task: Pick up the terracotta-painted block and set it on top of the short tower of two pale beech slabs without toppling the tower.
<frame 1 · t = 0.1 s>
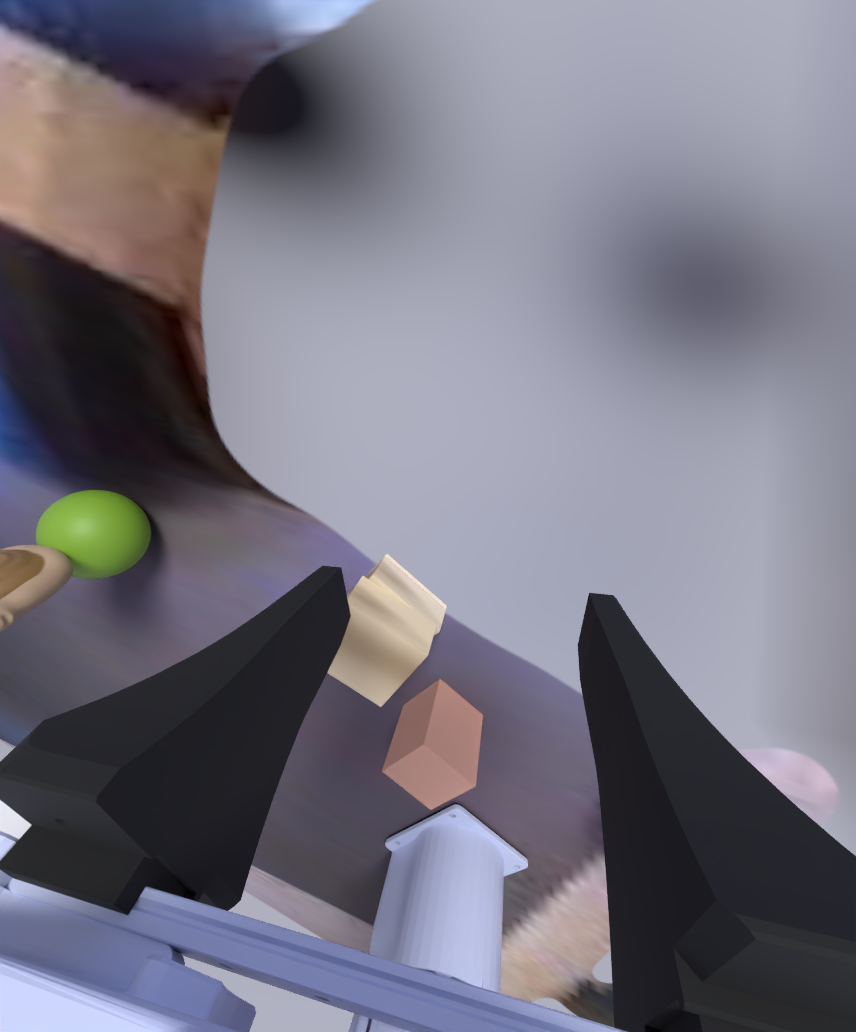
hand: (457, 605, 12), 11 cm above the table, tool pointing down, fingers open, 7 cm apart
block: (442, 709, 28), on the table
snail figurine: (144, 517, 27), on the table
tower top: (378, 627, 24), point 2 cm above the table, touching tower base
tower base: (392, 602, 26), on the table, touching tower top
white cup: (113, 733, 39), on the table
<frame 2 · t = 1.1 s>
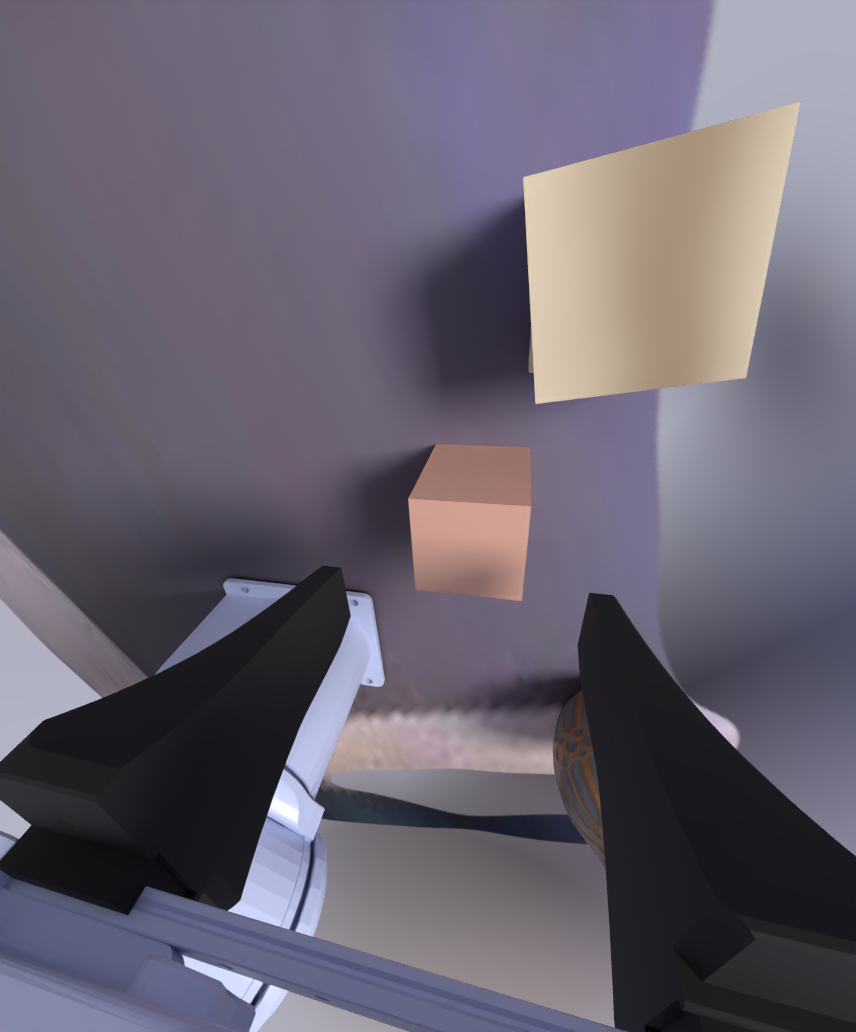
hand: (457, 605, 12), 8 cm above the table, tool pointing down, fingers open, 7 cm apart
vase: (609, 701, 24), on the table
block: (480, 486, 18), on the table
tower top: (620, 280, 11), point 2 cm above the table
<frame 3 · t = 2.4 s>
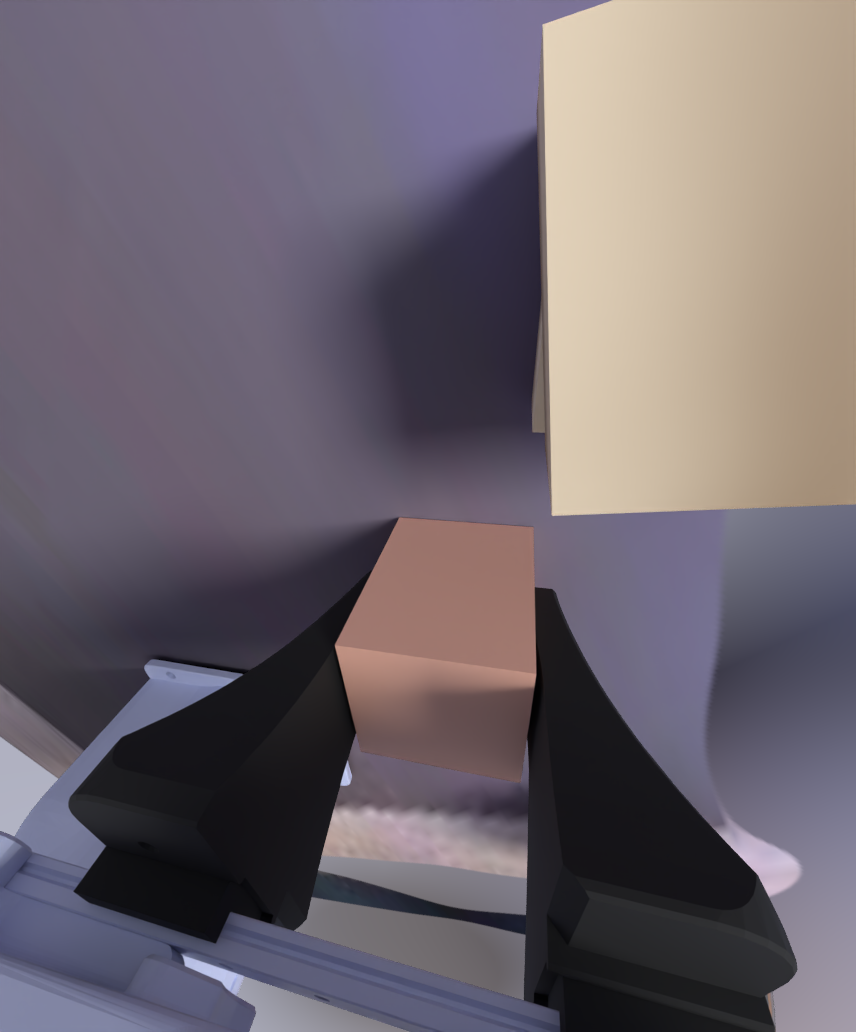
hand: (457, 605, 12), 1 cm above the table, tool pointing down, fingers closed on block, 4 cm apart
block: (464, 574, 13), on the table, touching gripper
tower top: (711, 284, 6), point 2 cm above the table, touching tower base
tower base: (669, 275, 8), on the table, touching tower top
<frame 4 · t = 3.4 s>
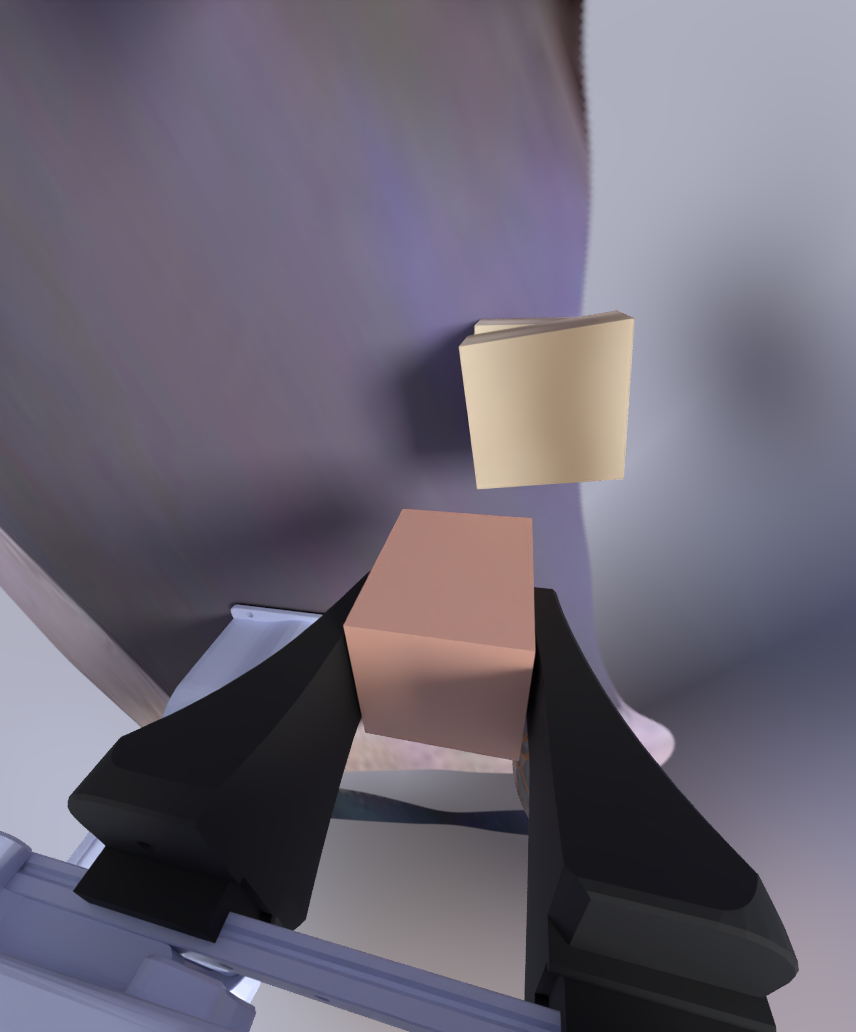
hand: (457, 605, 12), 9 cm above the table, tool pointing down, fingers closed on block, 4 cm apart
vase: (564, 709, 28), on the table
block: (464, 564, 13), point 7 cm above the table, touching gripper
tower top: (541, 395, 15), point 2 cm above the table
tower base: (537, 381, 17), on the table
when the fingers open (7 cm above the table, at t = 4.4 s): block stays where it is, resting on tower top.
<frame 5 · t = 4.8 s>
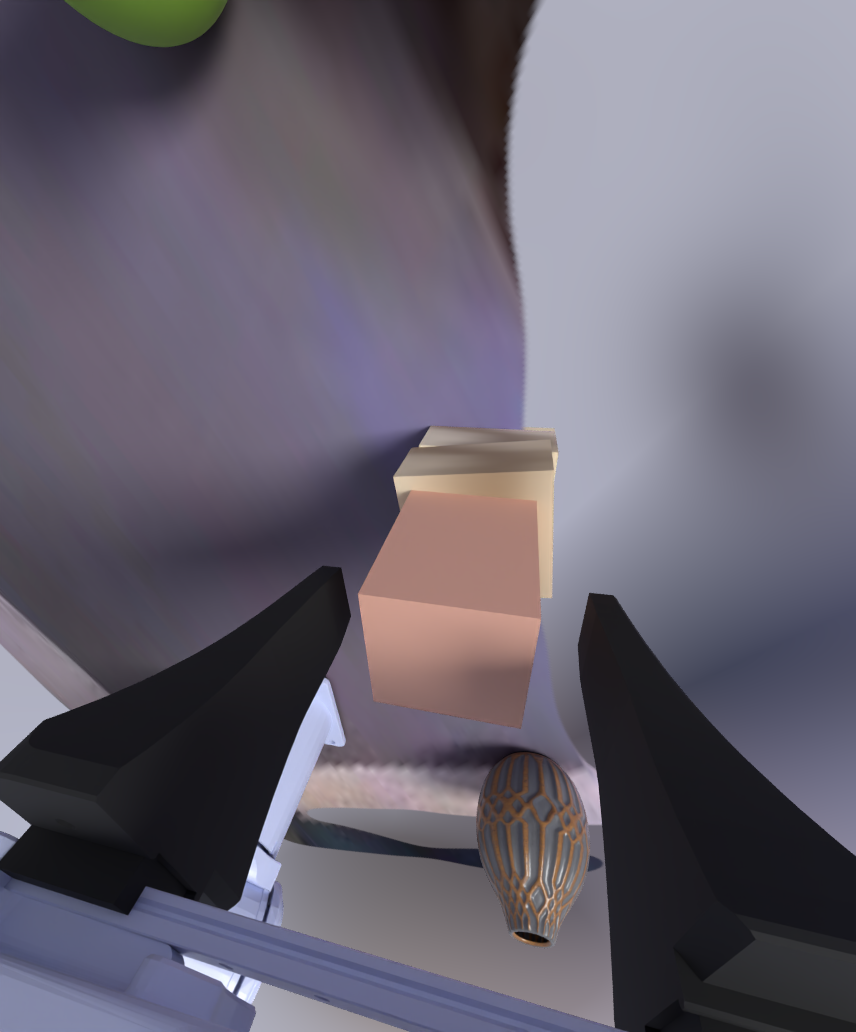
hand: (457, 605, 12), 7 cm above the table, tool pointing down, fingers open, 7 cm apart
vase: (530, 764, 29), on the table
block: (469, 545, 14), point 5 cm above the table, touching tower top
tower top: (483, 503, 16), point 2 cm above the table, touching block, tower base
tower base: (488, 479, 18), on the table, touching tower top
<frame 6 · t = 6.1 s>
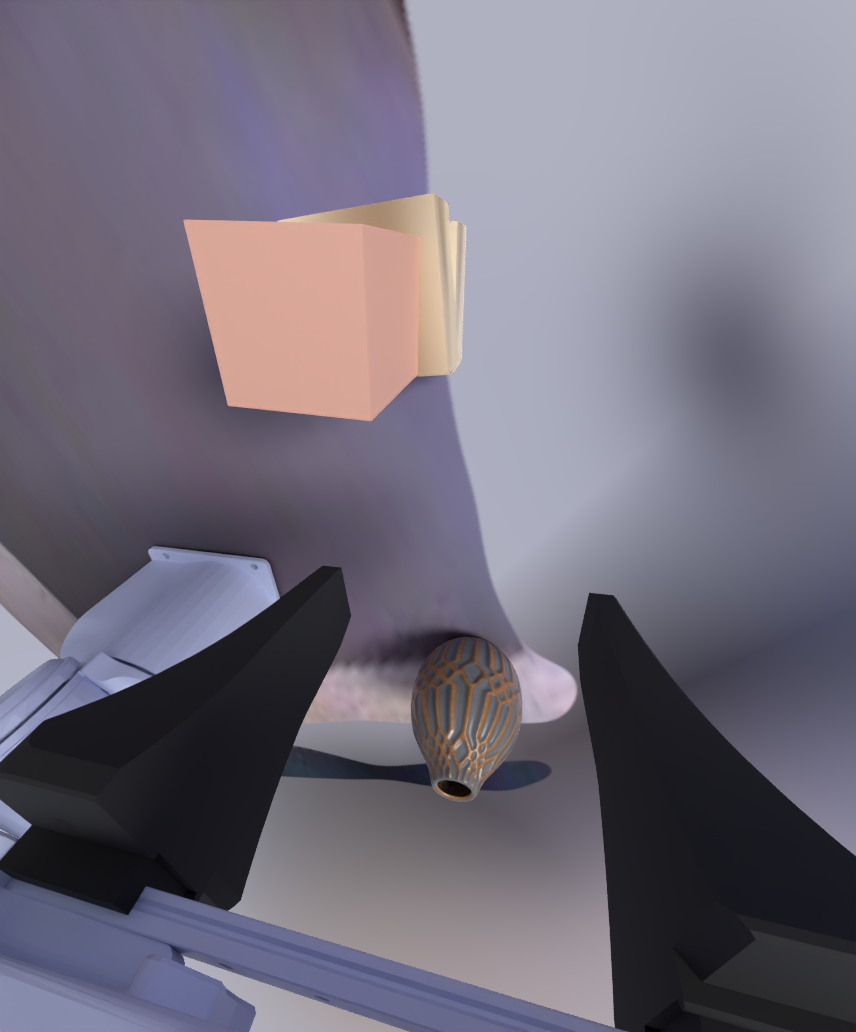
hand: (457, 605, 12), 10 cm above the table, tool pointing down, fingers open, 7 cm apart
vase: (473, 653, 29), on the table
block: (360, 308, 13), point 5 cm above the table, touching tower top
tower top: (389, 296, 15), point 2 cm above the table, touching block, tower base
tower base: (406, 298, 18), on the table, touching tower top
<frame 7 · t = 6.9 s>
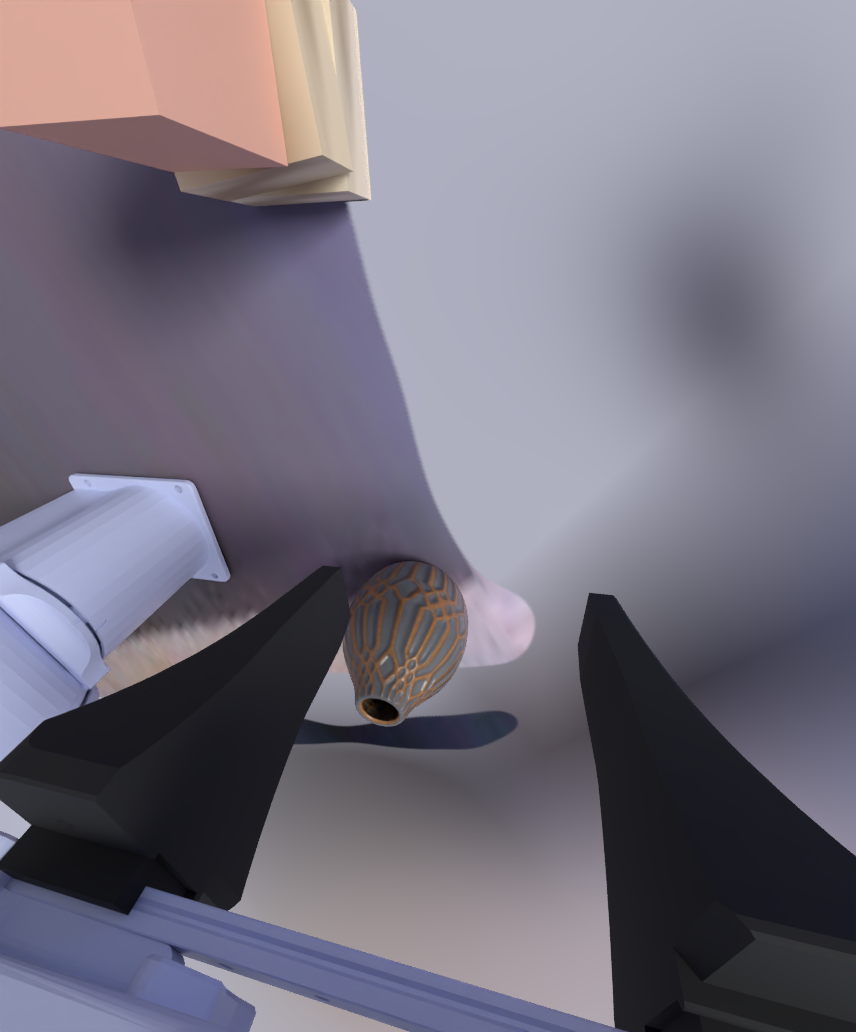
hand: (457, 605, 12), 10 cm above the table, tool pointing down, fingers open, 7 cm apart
vase: (421, 584, 26), on the table
block: (208, 75, 11), point 5 cm above the table
tower top: (264, 89, 13), point 2 cm above the table, touching tower base
tower base: (301, 120, 15), on the table, touching tower top
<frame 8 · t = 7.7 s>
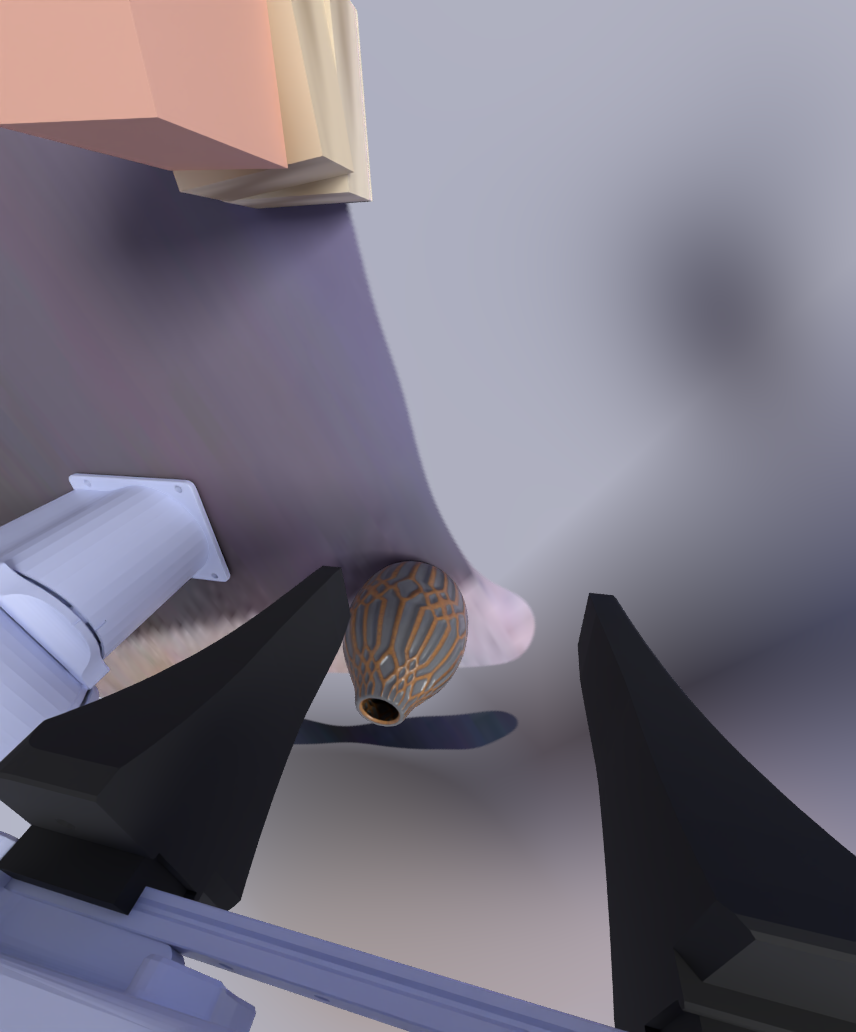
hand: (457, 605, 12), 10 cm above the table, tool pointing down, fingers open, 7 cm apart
vase: (421, 584, 26), on the table
block: (209, 74, 11), point 5 cm above the table, touching tower top
tower top: (264, 89, 13), point 2 cm above the table, touching block, tower base
tower base: (302, 121, 15), on the table, touching tower top
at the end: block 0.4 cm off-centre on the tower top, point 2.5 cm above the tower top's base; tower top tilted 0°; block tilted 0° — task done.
